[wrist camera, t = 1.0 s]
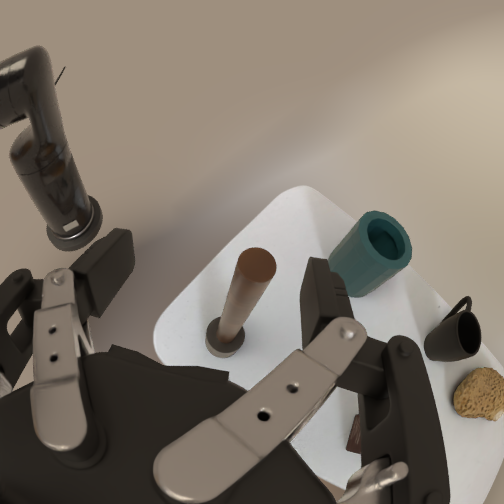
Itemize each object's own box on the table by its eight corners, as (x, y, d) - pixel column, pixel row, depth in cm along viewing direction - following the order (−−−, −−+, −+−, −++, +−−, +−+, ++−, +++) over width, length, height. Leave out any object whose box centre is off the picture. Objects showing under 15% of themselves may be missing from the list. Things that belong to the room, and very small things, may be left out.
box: (354, 413, 33) (383, 414, 27) (385, 417, 33) (415, 417, 27) (344, 450, 30) (371, 457, 24) (375, 452, 30) (405, 457, 24)
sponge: (492, 384, 39) (468, 346, 39) (516, 386, 32) (498, 345, 31) (469, 433, 35) (441, 405, 35) (494, 439, 28) (472, 411, 27)
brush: (198, 339, 35) (198, 258, 15) (223, 318, 38) (258, 216, 17) (221, 364, 34) (256, 321, 14) (246, 343, 36) (312, 269, 16)
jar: (316, 267, 44) (347, 231, 35) (346, 237, 49) (376, 201, 39) (356, 308, 42) (396, 282, 32) (382, 274, 46) (419, 244, 37)
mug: (452, 322, 44) (485, 305, 36) (440, 374, 38) (477, 363, 30) (428, 303, 45) (461, 283, 37) (414, 356, 39) (452, 343, 31)
